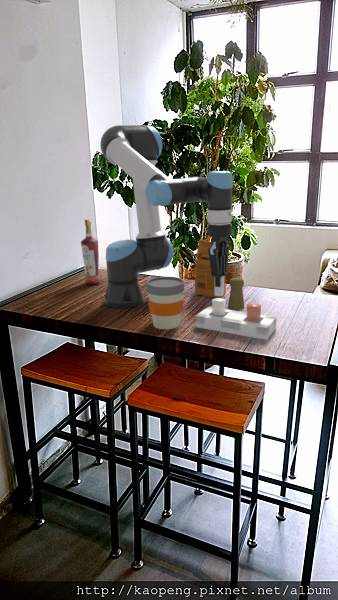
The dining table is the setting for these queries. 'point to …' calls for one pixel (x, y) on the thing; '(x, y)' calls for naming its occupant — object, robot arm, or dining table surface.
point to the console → (236, 323)
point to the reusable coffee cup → (165, 301)
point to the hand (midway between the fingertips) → (219, 295)
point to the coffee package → (204, 271)
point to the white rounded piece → (218, 306)
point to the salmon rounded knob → (253, 312)
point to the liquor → (90, 256)
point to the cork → (236, 294)
